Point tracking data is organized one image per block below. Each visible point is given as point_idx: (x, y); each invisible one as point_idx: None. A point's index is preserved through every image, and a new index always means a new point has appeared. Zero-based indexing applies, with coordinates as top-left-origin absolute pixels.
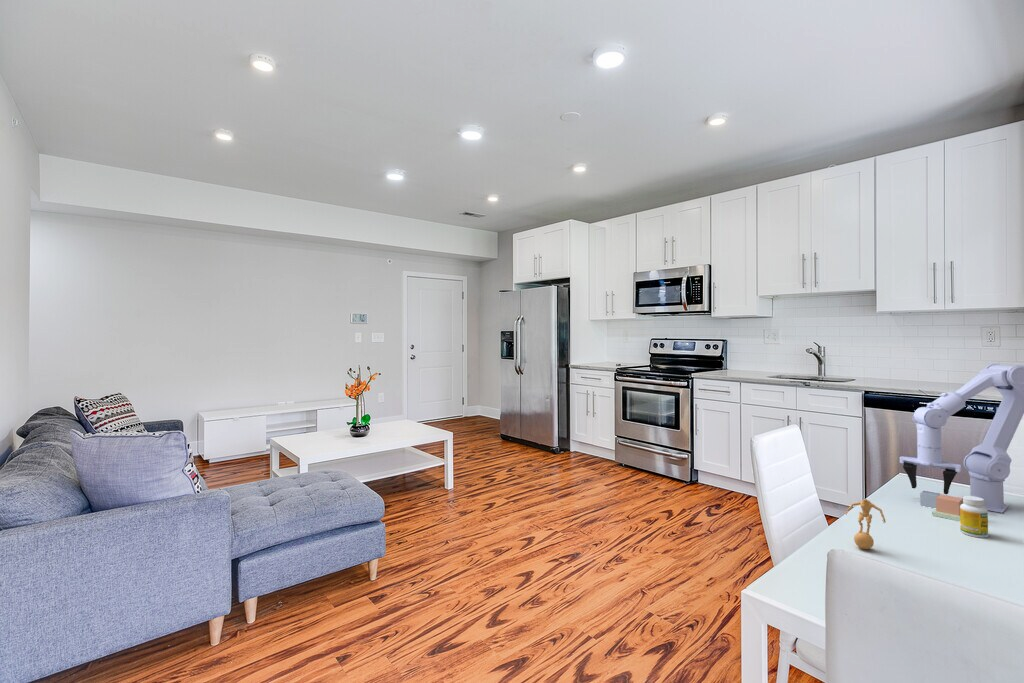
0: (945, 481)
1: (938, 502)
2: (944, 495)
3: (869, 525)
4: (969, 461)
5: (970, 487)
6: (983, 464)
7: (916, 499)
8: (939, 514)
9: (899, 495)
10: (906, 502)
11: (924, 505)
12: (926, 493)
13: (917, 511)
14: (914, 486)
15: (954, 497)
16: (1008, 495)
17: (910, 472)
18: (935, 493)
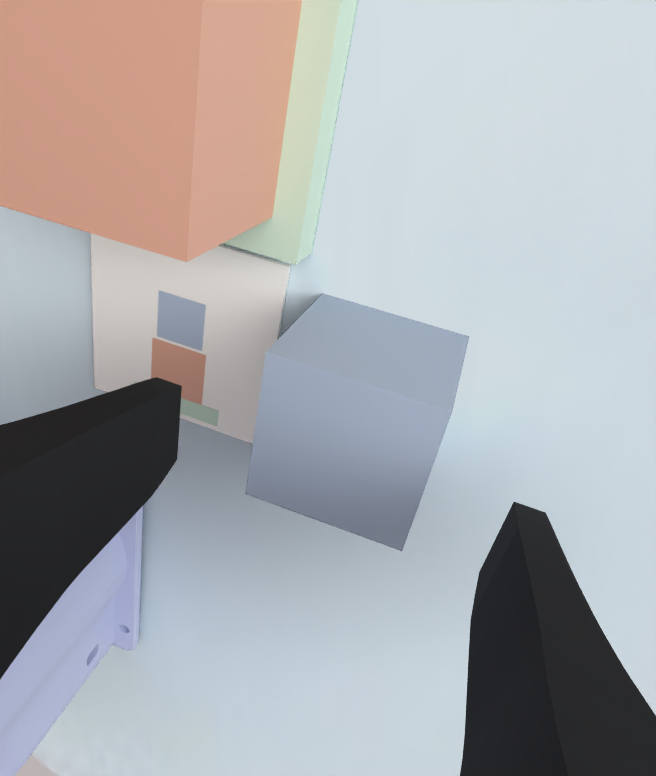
0: (3, 452)
1: None
2: (135, 207)
3: None
4: None
5: (30, 655)
6: None
7: (479, 548)
8: None
9: (620, 622)
10: (600, 403)
11: (429, 331)
12: (377, 432)
13: (536, 22)
14: (513, 522)
15: (22, 164)
16: (47, 754)
17: (610, 756)
18: (287, 479)
